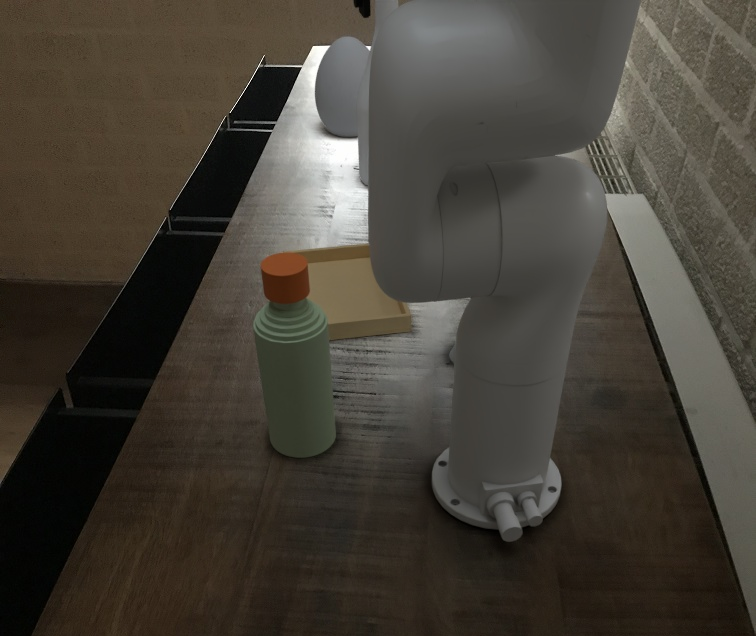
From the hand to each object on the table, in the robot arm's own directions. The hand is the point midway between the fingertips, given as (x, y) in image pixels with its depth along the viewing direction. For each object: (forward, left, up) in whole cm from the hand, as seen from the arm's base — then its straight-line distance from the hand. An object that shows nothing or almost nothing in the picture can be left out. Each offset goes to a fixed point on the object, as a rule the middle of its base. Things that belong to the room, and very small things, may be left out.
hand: (407, 11), depth 87 cm
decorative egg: (+52, 0, -31) cm, 61 cm away
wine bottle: (+29, -3, -31) cm, 43 cm away
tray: (-6, +9, -31) cm, 33 cm away
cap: (-33, +17, -14) cm, 39 cm away
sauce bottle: (-33, +17, -31) cm, 48 cm away
